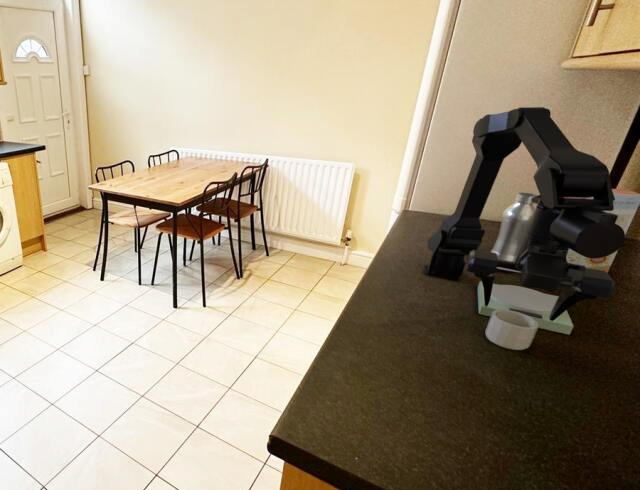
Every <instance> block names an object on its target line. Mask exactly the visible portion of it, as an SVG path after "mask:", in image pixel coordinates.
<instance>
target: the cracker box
mask: <svg viewBox="0 0 640 490" xmlns="http://www.w3.org/2000/svg"><path fill="white" fill-rule="evenodd" d="M612 191H613V195H614V198H615V200H614V201H613V205H614V209H613V210H612V211H604V212H607V213H613V214H615V215H618V218H617V220H616V222H615V224H617V225H619V226H620V227H621V228H622V229H623V230H624V233H625V235H626V234H627V232H628V230H629V228H630V225H631V223H632V221H633V219H634V216H635V215H636V212H637V210H638V208H639V206H640V192H639V193H638V192H636V191H634V190H631V189H623V188H621V189H620V188H612ZM563 198H575V197H563ZM575 199H594V198H593V197H591V198H575ZM618 251H619V249H618V250H617V251H616V252H614V253H613V254H611V255H608V256H606V257H602V258H587V257H584V256H582V255H580V254H578V253H576V252H575V251H573V250H571V249H569V250H568V254H567V256H566V259H567V263H572V264H576V265H582V266H585V268H590V269H596V270H602V271H606V272H607V274H608V273H609V271H610V268H611V267H612V264H613V262H614V260H615V257H616V255H617V254H618Z"/></svg>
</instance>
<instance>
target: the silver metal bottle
mask: <svg viewBox="0 0 640 490" xmlns="http://www.w3.org/2000/svg"><path fill="white" fill-rule="evenodd" d="M538 195H539V194H536V193H532V192H518V193H517V195H516V198H515V199H514V201H515V202H514V203H513V204H511V205H510V206H508V207H507V208H506V209H505V210H504V211H503V212H502V217H501V223H500V228H499V232H498V235H497V238H496V240H495V243H494V245H493V247H492V249H491V250H490V252H492V253H497V258H498V260H504V261H510V262H515V261H516V258H517V256H518V253H519V250H520V248H521V245H522V243H523V240H524V237H525V235H526V232H527V230H528V227H529V224H530V222H531V219H532V217H533V214H534V211H535V209H536V206H534V205H535V204H536V203H534V202H532V201H531V199H532V198H534V197H535V196H538ZM499 271H501V270H499ZM501 272H502V271H501Z"/></svg>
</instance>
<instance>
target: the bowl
mask: <svg viewBox="0 0 640 490" xmlns="http://www.w3.org/2000/svg"><path fill="white" fill-rule="evenodd" d="M489 317H490V316H489ZM538 327H539V324H538V322H537V321H536V320H535V319H533V318H531V317H529V316H527V315H525V314H522V313H519V312H515V311H511V310H495V311H493V312H492V315H491V317H490V318H489V320H488V323H487V326H486V328H485V332H484V333H485V337H486V339H487V340H489V341H490V342H492V343H493V344H495V345H497V346H499V347H502V348H505V349H509V350H513V351H514V350H515V351H524V350H526V349H528V348H530V347H531V345H532V343H533V341H534V339H535V336H536V334H537V332H538V329H539V328H538Z"/></svg>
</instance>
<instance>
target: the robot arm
mask: <svg viewBox="0 0 640 490" xmlns="http://www.w3.org/2000/svg"><path fill="white" fill-rule="evenodd" d="M472 134H473V135H472V140H471V143H472V145H473V148H474V151H475V157H474V160H473V162H472V164H471V168H470V169H469V174H468V176H467V178H466V181H465V184H464V186H463V189H462V191H461V194H460V196H459V200H458V202H457V205H456V207H455V210H454V212H453V213H452V214H451V215H449V216H448V217H446V218H445V219H444V220H443V221H442V222H441V224H440V226H439V227H438V230H436V232H434V233H433V234H432V235H431V236H430V237H428V239H427V245H426V247H427V248H428V250H430V251H431V252H432V255H431V258H430V262H429V264H428V265H427V270H426V275H428V276H431V277H438V278H443V279H447V280H451V281H459V280H460V277H462V275H463V272H464V270H465V267H466V272H468V273H472V274H473V276H474V277H475V278H480V281H482V284H483V288H484V301H485V306H488V304H489V302H490V298H491V292H492V287H493V284H495V283H494V282H495V279H496V278H495V273H496V271H500V270H501V272H508V273H513V274H518V275H520V279H519V283H520V285H521V286H522V287H523V286H524V288H528V289H531V288H535V289H540V290H545V291H546V292H550V293H556V292H559V290H560V288H561V287H562V286H563V288H562V289H561V292H560V293H559V295H558V296H559V297H558V299H557V301H556V303H555V305H554V307H553V309H552V311H551V314H550V317H549V319H550V321H554V320H555V319H556V318H557V317H559V316H560V315H561V314H562V313H563V312H565V311H566V310H567V311H568V309H570V308H571V307H572V306H574V305H575V304H577V303H579V302H581V301H584V300H596V299H598V297H599V298H606V299H607V298H611V297H612V295H613V292H614V290H615V289H616V288H615V287H616V284H615V283H616V282H615V281H614V280H613V279H612V278H611V276H610V275H609V274H608V273H607V272H606V271H602V270H596V269H590V268H585V266H582V265H576V264H572V263H567V259H566V256H567V254H568V250H569V249H571V250H573V251H575V252H576V253H578V254H580V255H582V256H584V257H587V258H602V257H606V256H608V255H611V254H613V253H614V252H616V251H617V250H618V251H619V250H620V249H621V248H622V247H623V245H624V244H625V242H626V234H625V233H624V230H623V229H622V228H621V227H620V226H619V225H617V224H615V222H616V220H617V218H618V215H615V214H613V213H607V212H604V211H612V210H613V209H614V205H613V201H614V200H615V198H614V195H613V191H612V189H613V188H612V187H613V186H612V182H611V175H610V174H611V173H610V170H609V168H608V166H607V165H606V164H605V163H603V162H602V161H601V160H600V159H598V158H597V157H596V156H594V155H592V154H589V153H586V152H583V151H580V150H578V149H577V148H575V147H574V146H573V144H572V143H571V142H570V140H569V139H568V138H567V137H566V135H565V134H564V133H563V131H562V130H561V128H560V127H559V126H558V125H557V123H556V122H555V121H554V119H553V118H552V117H551V110H550V109H549V108H545V107H544V106H537V107H536V106H534V107H533V106H531V107H528V106H527V107H525V106H524V107H522V106H521V107H517V108H514V109H511V110H508V111H504V112H500V113H494V114H490V113H489V114H485V115H484V116H483V117H481V118H479V120H477V121H476V122H475V124H474V126H473V130H472ZM521 145H523V146H524V147H525V148H526V150H527V152H528V153H529V155H530V156H531V158H532V160H533V161H534V162H535V164H536V167H537V169H536V170H535V172H534V174H533V180H534V182H535V185H536V188H537V191H538V193H539V194H537V195H538V196H535V197H534V198H532V199H531V201H532V202H534V203H535V204H536V206H535V211H534V214H533V217H532V219H531V222H530V224H529V227H528V230H527V232H526V235H525V237H524V240H523V243H522V245H521V248H520V250H519V253H518V256H517V258H516V261H515V262H510V261H504V260H498V258H497V253H492V252H491V251H485V250H479V248H480V246H481V244H482V242H483V237H484V236H485V235H486V232H485V229H484V228H483V226H482V223H481V221H480V219H481V216H482V213H483V211H484V210H485V207H486V203H487V201H488V200H489V197H490V194H491V191H492V189H493V187H494V184H495V182H496V179H497V177H498V174H499V173H500V170H501V168H502V165H503V162H504V160H505V159H506V158H507V157H509V156H510V155H511V154H512V153H514V152H515V151H516V150H517V149H519V148H520V146H521ZM563 197H575V198H591V197H593V198H594V199H575V198H563ZM618 251H617V252H618ZM465 256H467V259H466V257H465Z"/></svg>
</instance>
